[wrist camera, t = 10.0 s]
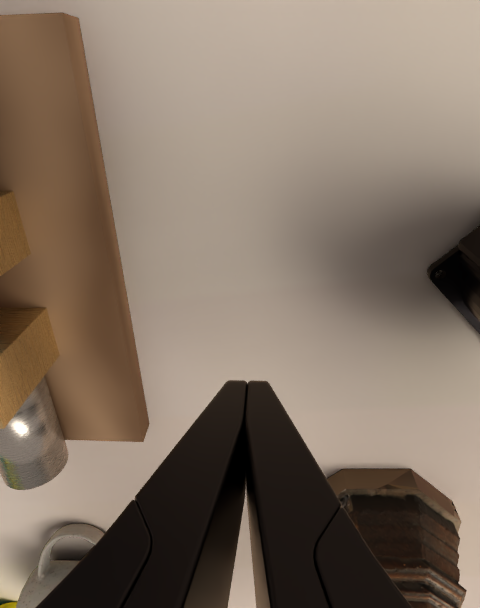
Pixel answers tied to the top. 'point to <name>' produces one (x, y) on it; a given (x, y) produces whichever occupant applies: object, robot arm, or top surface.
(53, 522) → the top surface
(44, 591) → the ceramic mug
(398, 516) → the bird statue
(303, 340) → the top surface
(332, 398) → the top surface
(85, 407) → the walnut board
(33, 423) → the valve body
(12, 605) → the teal lumpy block
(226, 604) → the robot arm
